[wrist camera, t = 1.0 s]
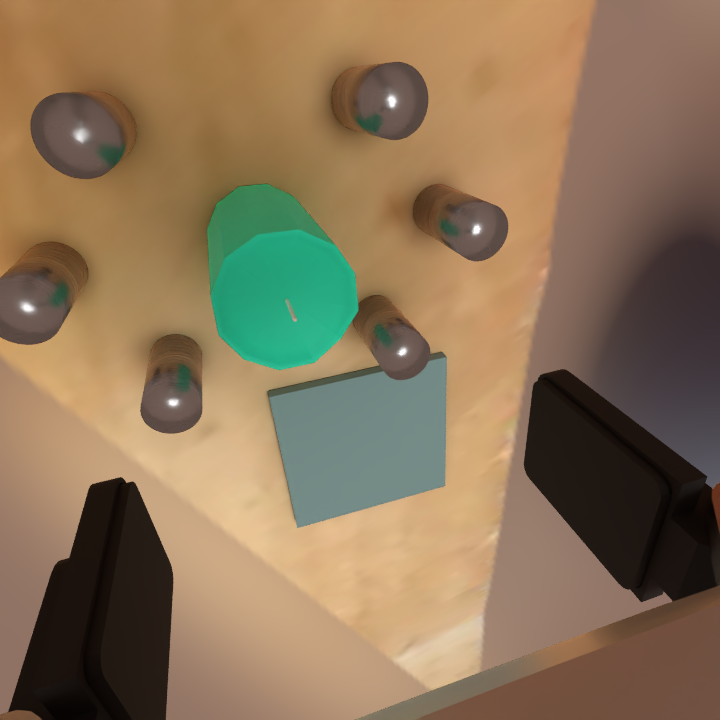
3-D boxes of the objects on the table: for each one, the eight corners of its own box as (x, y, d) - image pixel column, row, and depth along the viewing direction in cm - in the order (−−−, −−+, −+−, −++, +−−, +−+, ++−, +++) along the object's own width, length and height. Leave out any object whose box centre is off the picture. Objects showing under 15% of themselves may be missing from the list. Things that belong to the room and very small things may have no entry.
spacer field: (-53, 104, 21) (-129, 110, 16) (460, 57, 26) (521, 50, 21) (82, 397, 30) (58, 460, 25) (455, 319, 35) (498, 358, 30)
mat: (267, 391, 33) (269, 397, 32) (441, 352, 36) (446, 357, 35) (295, 520, 40) (297, 527, 39) (441, 479, 42) (445, 485, 42)
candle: (235, 300, 29) (253, 410, 19) (187, 206, 26) (179, 280, 16) (325, 263, 30) (388, 351, 20) (289, 166, 27) (343, 213, 17)
